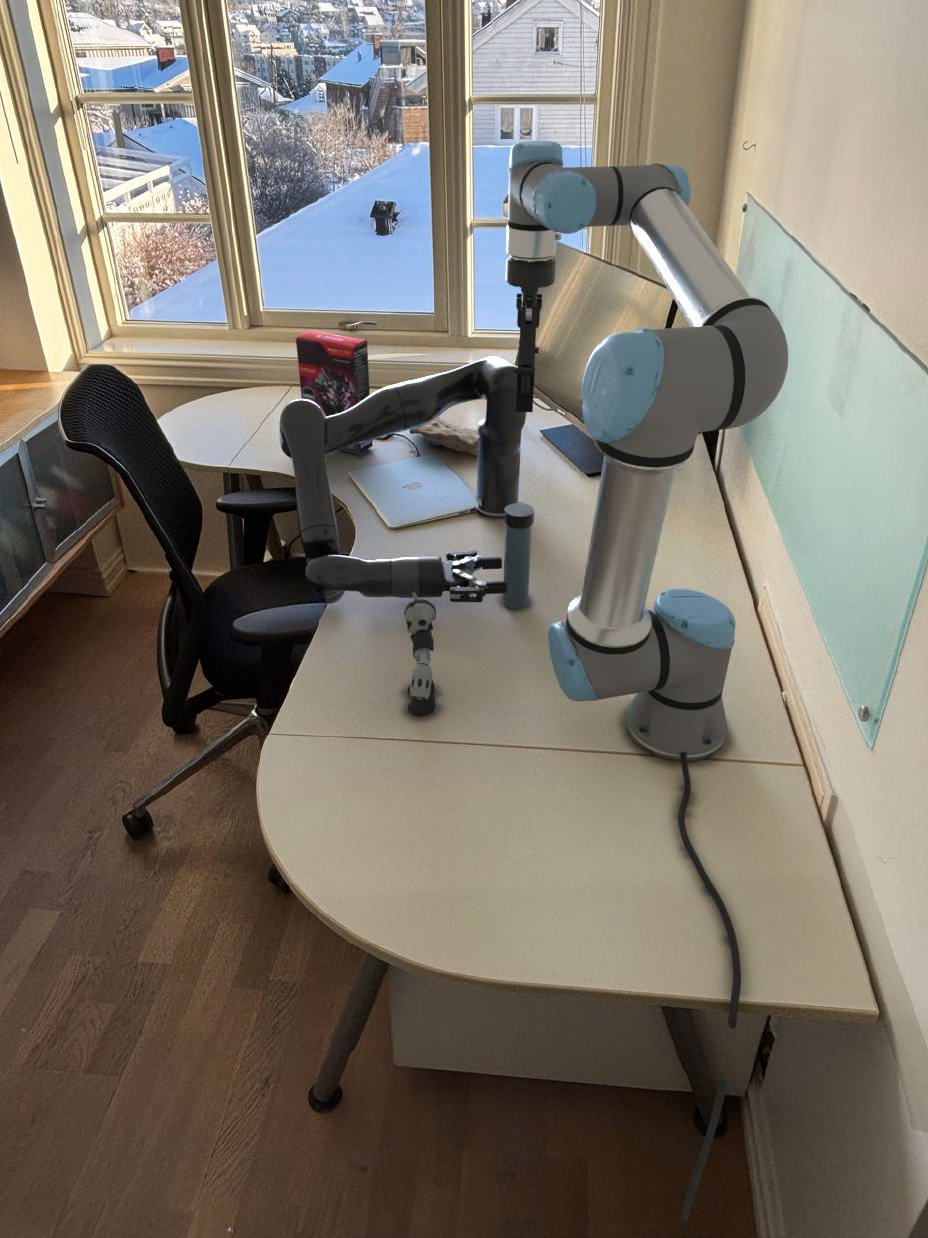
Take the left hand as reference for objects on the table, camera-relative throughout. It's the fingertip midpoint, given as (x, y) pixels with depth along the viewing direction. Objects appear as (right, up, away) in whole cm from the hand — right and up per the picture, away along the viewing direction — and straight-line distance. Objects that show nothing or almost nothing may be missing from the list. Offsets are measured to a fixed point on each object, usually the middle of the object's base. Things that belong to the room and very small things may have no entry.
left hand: (504, 574), depth 170 cm
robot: (-14, -21, -21) cm, 33 cm away
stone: (-12, +36, +64) cm, 75 cm away
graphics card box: (-39, +36, +64) cm, 83 cm away
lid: (+2, +11, -7) cm, 13 cm away
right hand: (+3, +28, -18) cm, 33 cm away
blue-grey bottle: (+2, -5, +4) cm, 7 cm away
